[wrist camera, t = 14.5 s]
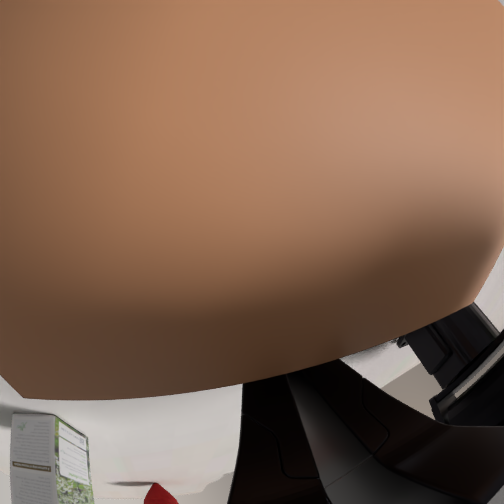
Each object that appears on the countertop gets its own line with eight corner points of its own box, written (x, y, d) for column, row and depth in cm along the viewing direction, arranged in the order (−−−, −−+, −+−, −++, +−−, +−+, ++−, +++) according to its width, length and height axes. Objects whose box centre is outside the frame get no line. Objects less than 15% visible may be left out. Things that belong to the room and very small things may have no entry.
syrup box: (10, 411, 15) (17, 557, 3) (56, 413, 16) (74, 579, 4) (46, 435, 18) (59, 561, 7) (91, 436, 19) (113, 573, 8)
